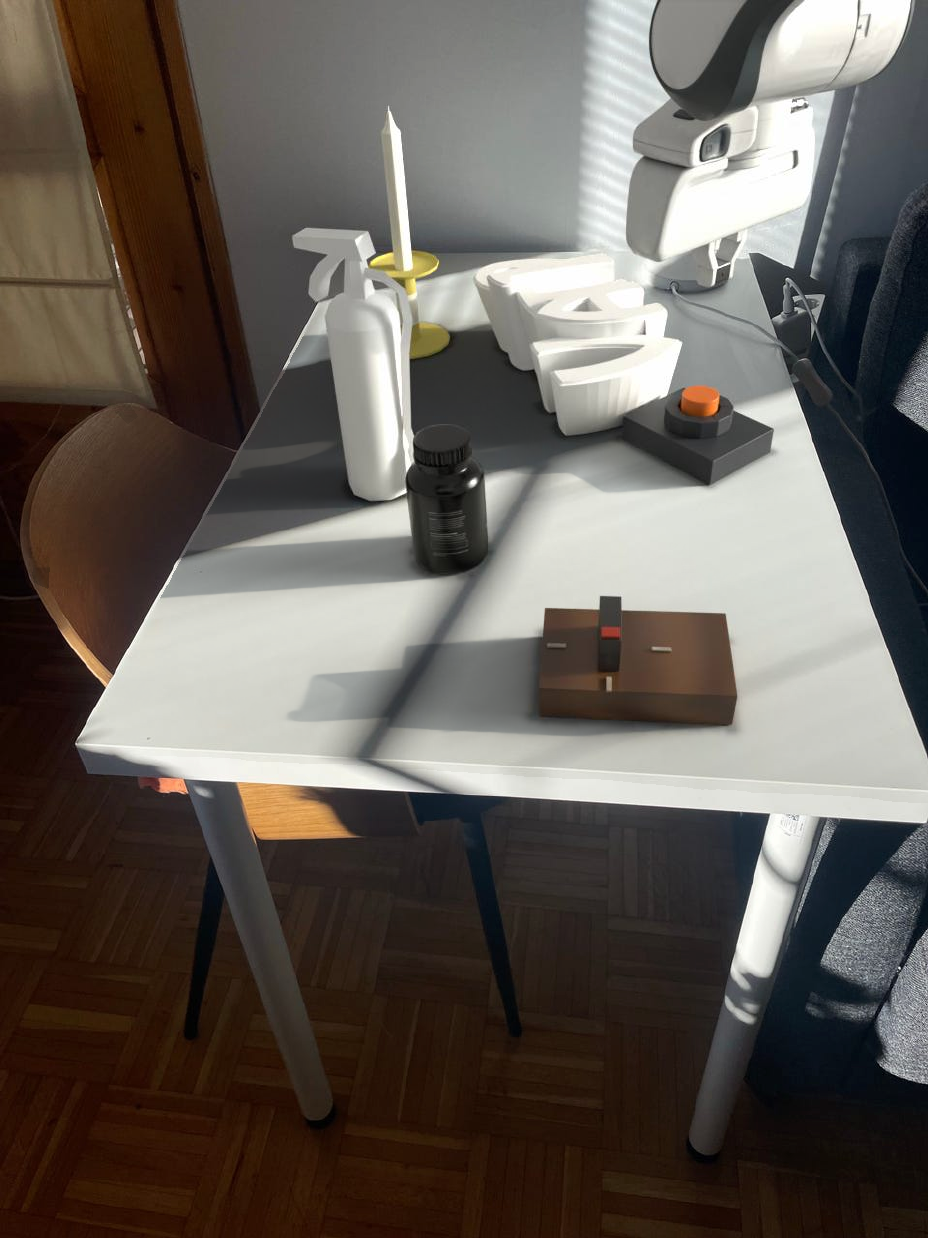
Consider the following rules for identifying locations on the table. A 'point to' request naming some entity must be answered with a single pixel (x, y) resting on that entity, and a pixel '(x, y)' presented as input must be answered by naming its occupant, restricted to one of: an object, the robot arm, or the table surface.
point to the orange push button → (700, 401)
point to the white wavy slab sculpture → (580, 337)
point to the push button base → (697, 437)
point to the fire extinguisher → (366, 362)
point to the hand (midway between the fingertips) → (714, 281)
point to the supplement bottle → (446, 501)
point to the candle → (406, 248)
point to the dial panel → (639, 668)
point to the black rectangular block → (609, 633)
